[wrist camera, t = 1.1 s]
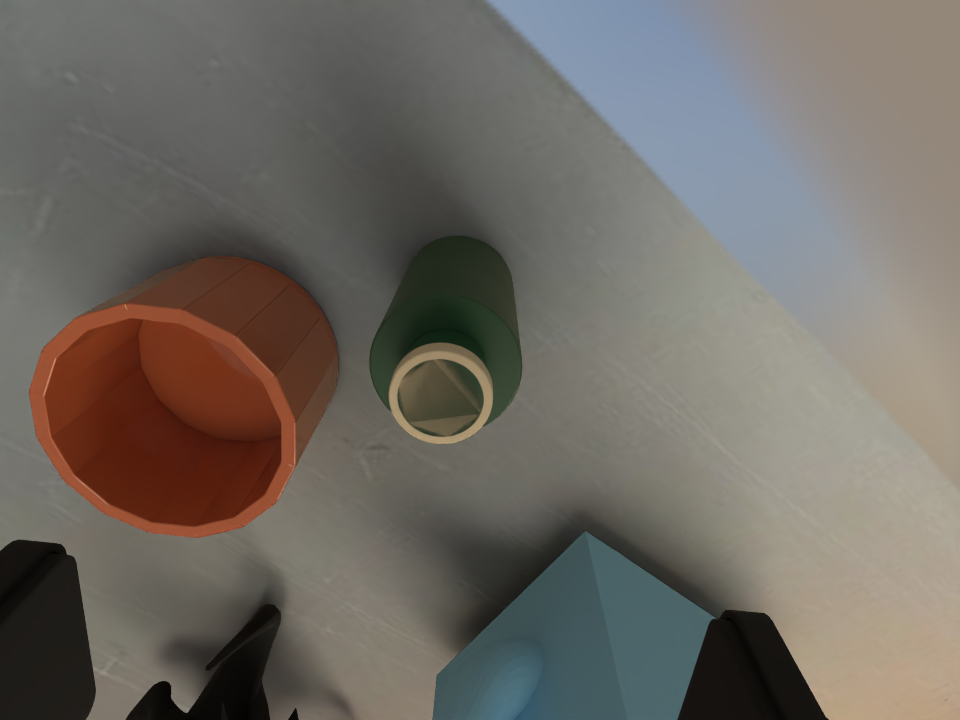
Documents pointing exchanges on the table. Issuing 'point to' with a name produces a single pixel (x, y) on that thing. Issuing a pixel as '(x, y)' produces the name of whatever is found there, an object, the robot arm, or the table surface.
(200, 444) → the cup
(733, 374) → the table surface
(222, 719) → the figurine
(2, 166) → the table surface
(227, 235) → the table surface
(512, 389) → the bottle
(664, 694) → the teapot
